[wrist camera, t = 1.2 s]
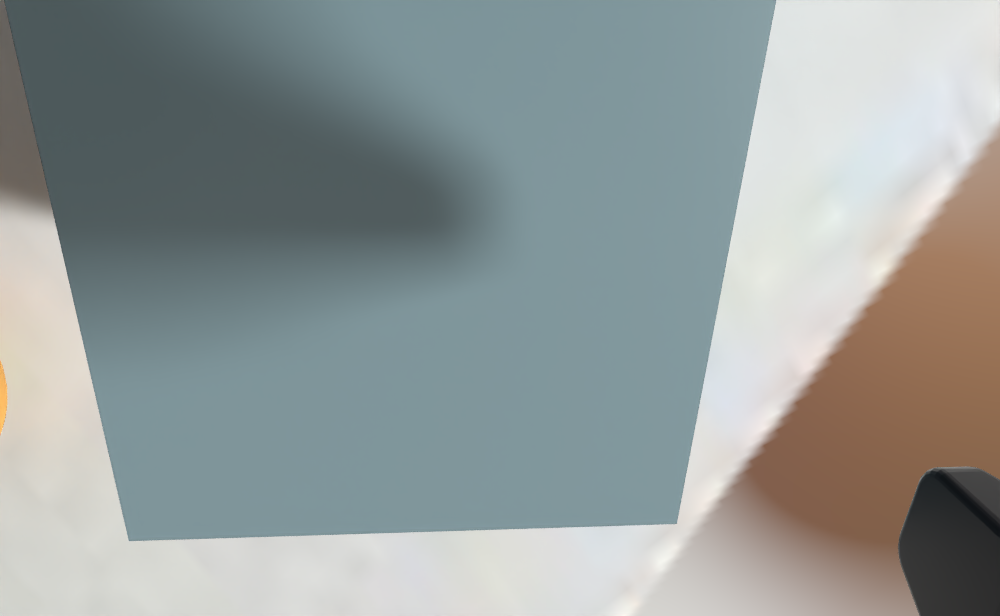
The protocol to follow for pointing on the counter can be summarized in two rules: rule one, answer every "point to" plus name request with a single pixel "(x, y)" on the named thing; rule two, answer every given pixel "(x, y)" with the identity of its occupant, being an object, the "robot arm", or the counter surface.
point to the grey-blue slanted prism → (394, 251)
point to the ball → (2, 397)
